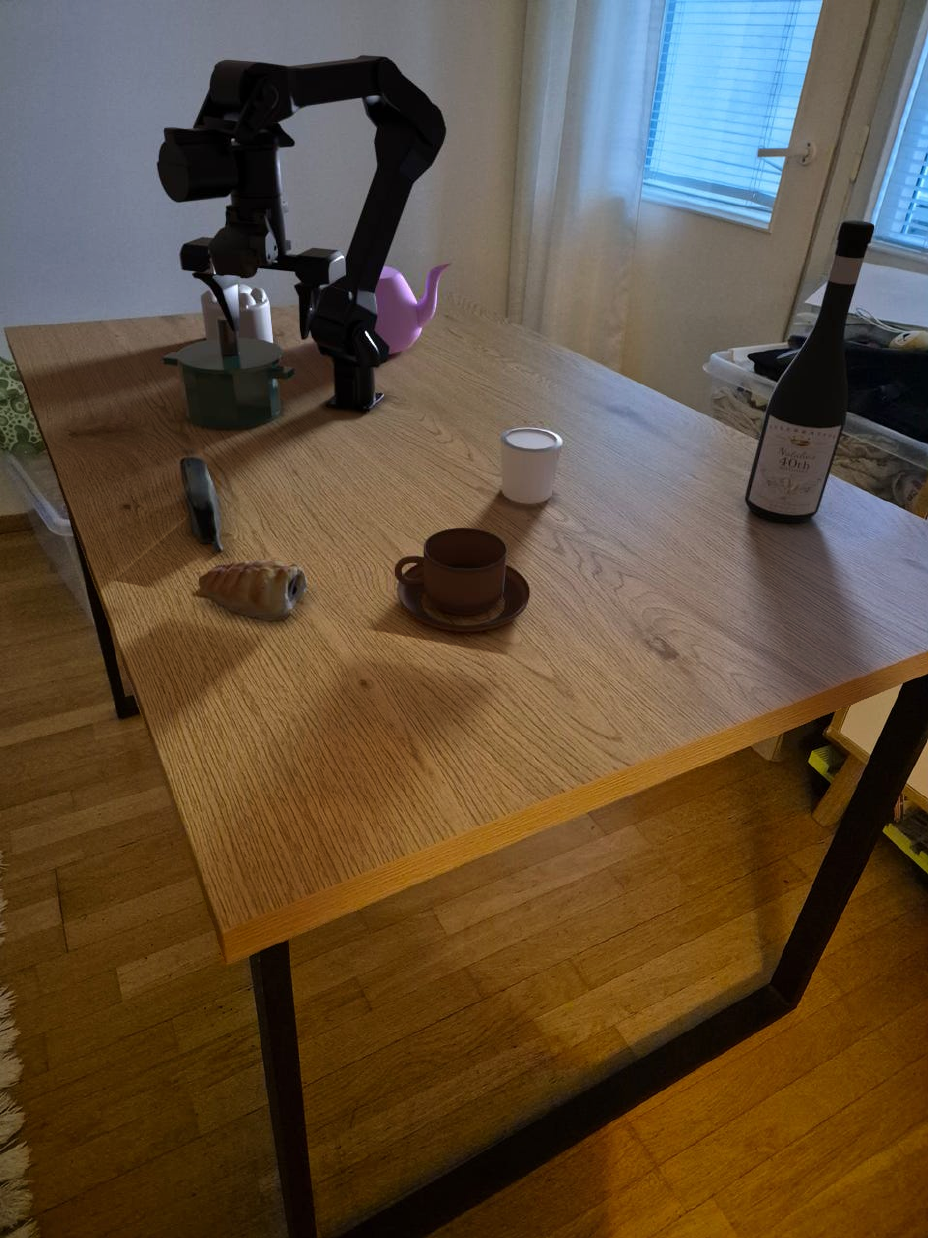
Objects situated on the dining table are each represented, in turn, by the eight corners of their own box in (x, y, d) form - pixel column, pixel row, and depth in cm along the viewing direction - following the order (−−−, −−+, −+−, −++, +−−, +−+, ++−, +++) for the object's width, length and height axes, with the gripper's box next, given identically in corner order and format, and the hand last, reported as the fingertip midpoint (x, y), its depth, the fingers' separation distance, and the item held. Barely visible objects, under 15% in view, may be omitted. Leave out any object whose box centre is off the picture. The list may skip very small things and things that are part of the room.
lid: (210, 341, 117) (205, 299, 114) (300, 353, 114) (297, 309, 111) (157, 371, 106) (149, 325, 103) (254, 384, 104) (249, 337, 101)
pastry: (187, 610, 75) (180, 574, 73) (221, 573, 81) (216, 538, 79) (286, 626, 74) (283, 589, 72) (314, 587, 79) (311, 551, 77)
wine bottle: (814, 532, 92) (906, 233, 75) (739, 518, 94) (812, 224, 77) (816, 501, 98) (901, 219, 81) (746, 489, 100) (814, 211, 83)
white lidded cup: (562, 489, 98) (569, 432, 94) (548, 514, 93) (554, 455, 89) (506, 479, 100) (510, 422, 96) (488, 503, 95) (492, 444, 91)
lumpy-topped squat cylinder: (266, 331, 145) (260, 278, 140) (279, 354, 135) (274, 298, 130) (203, 335, 142) (196, 281, 137) (213, 359, 132) (205, 302, 127)
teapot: (447, 370, 132) (449, 276, 124) (307, 364, 132) (301, 270, 124) (450, 329, 150) (452, 245, 142) (328, 324, 150) (323, 240, 142)
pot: (198, 389, 121) (190, 336, 117) (313, 404, 118) (309, 350, 114) (150, 419, 111) (139, 363, 107) (274, 437, 108) (268, 379, 104)
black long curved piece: (174, 454, 91) (191, 512, 80) (203, 451, 92) (223, 508, 81) (181, 496, 94) (199, 558, 82) (209, 492, 95) (230, 553, 83)
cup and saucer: (426, 657, 71) (426, 595, 68) (379, 585, 80) (378, 527, 76) (551, 627, 75) (558, 568, 72) (494, 562, 84) (497, 507, 81)
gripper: (141, 197, 90) (166, 344, 99) (303, 212, 87) (314, 363, 96) (195, 184, 99) (213, 320, 108) (344, 196, 96) (350, 336, 104)
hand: (269, 334), depth 104 cm, fingers open, 9 cm apart
